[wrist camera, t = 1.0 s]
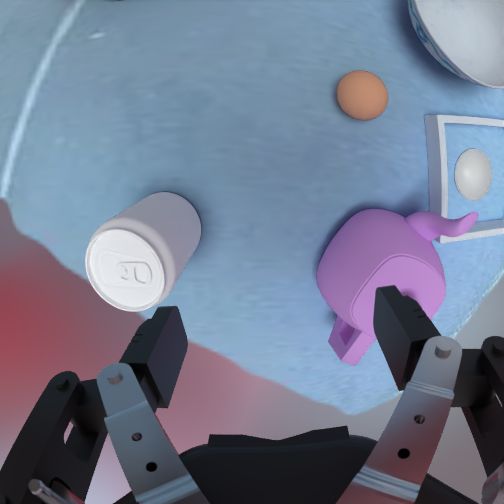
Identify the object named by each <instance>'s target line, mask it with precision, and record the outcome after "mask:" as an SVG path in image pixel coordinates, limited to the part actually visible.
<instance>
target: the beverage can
mask: <svg viewBox="0 0 504 504" xmlns="http://www.w3.org/2000/svg"><path fill="white" fill-rule="evenodd" d="M200 238H201V223H200V219H199V216H198V214H197V212H196V211H195V209H194V208H193V206H192V205H191V204H190V203H189V202H188V201H187V200H185V199H184V198H182V197H181V196H179V195H176V194H173V193H169V192H159V193H155V194H152V195H150V196H148V197H146V198H144V199H143V200H141V201H139V202H137V203H136V204H134V205H132V206H131V207H129V208H127V209H126V210H124V211H123V212H121V213H119V214H118V215H116V216H114V217H113V218H111V219H110V220H108V221H106V222H105V223H104V224H102V225H101V226H100V227H99V228H98V229H97V230H96V231H95V233H94V235H93V236H92V238H91V241H90V244H89V246H88V248H87V252H86V257H85V266H86V272H87V275H88V278H89V280H90V282H91V284H92V286H93V288H94V289H95V291H96V292H97V293H98V294H99V295H100V296H101V297H102V298H103V299H104V300H105V301H106V302H108V303H109V304H111V305H113V306H114V307H116V308H119V309H121V310H125V311H142V310H145V309H148V308H150V307H152V306H154V305H157V304H158V303H160V302H161V301H163V300H164V299H165V298H166V297H167V296H168V295H169V293H170V292H171V290H172V288H173V287H174V285H175V283H176V282H177V280H178V278H179V276H180V275H181V273H182V271H183V270H184V268H185V266H186V265H187V263H188V261H189V259H190V258H191V256H192V254H193V253H194V251H195V249H196V248H197V246H198V244H199V241H200Z"/></svg>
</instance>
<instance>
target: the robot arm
mask: <svg viewBox="0 0 504 504" xmlns="http://www.w3.org/2000/svg"><path fill="white" fill-rule="evenodd" d="M108 1H119V0H108ZM373 328H374V333H375V335H376V338H377V340H378V342H379V345H380V347H381V349H382V351H383V354H384V356H385V358H386V361H387V363H388V366H389V368H390V370H391V373H392V375H393V378H394V380H395V383H396V385H397V388H398V390H399V391H402V390H404V392H403V394H402V396H401V398H400V400H399V402H398V404H397V406H396V408H395V410H394V412H393V415H392V416H391V418H390V420H389V422H388V424H387V426H386V428H385V430H384V431H383V433H382V435H381V437H380V439H379V440H378V441H376V440H373V439H370V438H367V437H363V436H357V435H349V432H348V428H347V426H341V427H334V428H327V429H319V430H312V431H310V432H306V433H303V434H300V435H296V436H294V437H289V438H286V439H282V440H270V439H263V438H258V437H253V436H247V435H213V434H210V436H209V441H208V444H203V445H200V446H196V447H194V448H191V449H189V450H187V451H185V452H183V453H181V454H178V452H177V451H176V449H175V447H174V446H173V444H172V443H171V441H170V439H169V437H168V436H167V434H166V433H165V431H164V429H163V427H162V425H161V424H160V422H159V420H158V418H157V416H156V414H155V412H156V409H157V408H168V406H169V403H170V400H171V397H172V394H173V391H174V388H175V385H176V381H177V378H178V376H179V373H180V370H181V366H182V363H183V361H184V358H185V355H186V352H187V346H188V342H187V336H186V332H185V329H184V326H183V322H182V319H181V316H180V312H179V309H178V307H177V306H164V307H158V308H157V310H156V312H155V313H154V315H153V317H152V319H147V320H146V321H145V322H144V323H143V324H141V326H139V328H138V330H137V331H136V333H135V336H134V337H133V338H132V340H131V342H130V343H129V345H128V347H127V349H126V351H125V352H124V354H123V356H122V358H121V360H120V361H119V363H115V364H112V365H109V366H107V367H105V368H104V369H103V370H102V371H101V372H100V373H99V375H98V377H97V379H92V380H86V381H80V379H79V378H78V376H77V375H76V373H74V372H71V371H65V372H61V373H59V374H57V375H56V376H54V377H53V378H52V379H51V380H50V382H49V383H48V385H47V387H46V388H45V390H44V391H43V393H42V395H41V396H40V398H39V400H38V402H37V403H36V405H35V406H34V408H33V410H32V412H31V413H30V415H29V417H28V419H27V420H26V422H25V424H24V426H23V428H22V430H21V431H20V433H19V435H18V437H17V439H16V441H15V443H14V444H13V446H12V448H11V450H10V452H9V454H8V456H7V458H6V460H5V462H4V464H3V466H2V468H1V470H0V504H85V503H84V502H85V499H86V495H87V492H88V489H89V486H90V483H91V480H92V476H93V474H94V471H95V467H96V465H97V462H98V459H99V456H100V453H101V450H102V448H103V444H104V442H105V439H106V436H107V434H108V433H109V436H110V438H111V441H112V444H113V447H114V449H115V452H116V455H117V457H118V460H119V462H120V465H121V467H122V469H123V472H124V474H125V477H126V479H127V481H128V483H129V486H130V488H131V490H132V491H131V492H129V493H128V494H126V495H125V496H123V497H122V498H121V499H119V500H118V501H116V502H115V503H113V504H478V503H477V502H475V501H474V500H472V499H470V498H468V497H466V496H465V495H463V494H461V493H459V492H458V491H456V490H454V489H453V488H451V487H449V486H448V485H446V484H444V483H443V482H441V481H439V480H438V479H436V478H434V477H432V476H431V475H430V474H428V473H427V471H428V469H429V466H430V464H431V462H432V459H433V457H434V454H435V452H436V449H437V446H438V444H439V441H440V438H441V436H442V433H443V430H444V427H445V424H446V421H447V418H448V415H449V412H450V408H451V407H461V408H462V411H463V413H464V415H465V418H466V420H467V423H468V425H469V427H470V430H471V433H472V435H473V438H474V440H475V443H476V446H477V449H478V451H479V454H480V457H481V460H482V463H483V466H484V468H485V472H486V475H487V479H486V481H485V482H484V484H483V487H482V499H481V503H482V504H504V338H502V337H499V336H492V337H488V338H487V339H485V340H484V342H483V344H482V347H481V349H462V348H461V345H460V344H459V343H458V342H457V341H456V340H454V339H452V338H450V337H446V336H441V334H440V333H439V331H438V330H437V329H436V327H435V326H434V324H433V323H432V321H431V320H430V319H429V317H428V316H427V314H426V313H425V312H424V310H422V307H421V306H420V305H419V303H418V302H417V301H416V300H414V299H413V298H411V297H410V296H408V295H406V296H402V294H401V293H400V291H399V290H398V288H397V287H396V286H395V285H390V286H383V287H377V288H376V292H375V303H374V315H373ZM496 394H497V396H498V398H499V400H500V401H501V403H502V407H501V405H500V403H499V401H498V399H497V397H496ZM502 408H503V409H502ZM70 421H71V423H72V424H73V425H74V426H73V428H72V430H71V433H70V435H69V437H68V439H67V441H66V444H65V443H64V433H65V431H66V428H67V426H68V424H69V422H70Z"/></svg>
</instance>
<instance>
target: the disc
mask: <svg viewBox="0 0 504 504" xmlns="http://www.w3.org/2000/svg"><path fill="white" fill-rule="evenodd" d="M454 179H455V184H456V187H457V189H458V191H459V193H460V194H461V195H462V196H463V197H464V198H466V199H468V200H472V201H475V200H479V199H481V198H482V197H483V196H484V195H485V194H486V193H487V191H488V190H489V188H490V185H491V181H492V168H491V164H490V162H489V159H488V158H487V156H486V155H485V154H484V153H483V152H482V151H480V150H478V149H468V150H466V151H464V152H463V153H462V154H461V155H460V156H459V158H458V160H457V162H456V165H455V171H454Z"/></svg>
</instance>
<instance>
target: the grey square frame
mask: <svg viewBox="0 0 504 504" xmlns="http://www.w3.org/2000/svg"><path fill="white" fill-rule="evenodd" d="M424 119H425V129H426V139H427V152H428V171H429V212H433V213H435V214H438V215H440V216H442V217H444V218H447V200H448V183H447V154H446V139H445V127H444V123H460V124H475V125H487V126H498V127H504V120H497V119H488V118H478V117H467V116H452V115H424ZM499 234H504V215H503V219H500V220H492V221H484V222H476V223H475V224H474V225H473V226H472V228H471V229H470V230H469V231H467V232H466V233H465V234H463V235H461V236H458V237H447V236H444V235H441V236H438V237H436V238H435V240H436V241H437V242H439V243H440V244H441V243H448V242H455V241H461V240H468V239H474V238H480V237H487V236H493V235H499Z"/></svg>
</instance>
